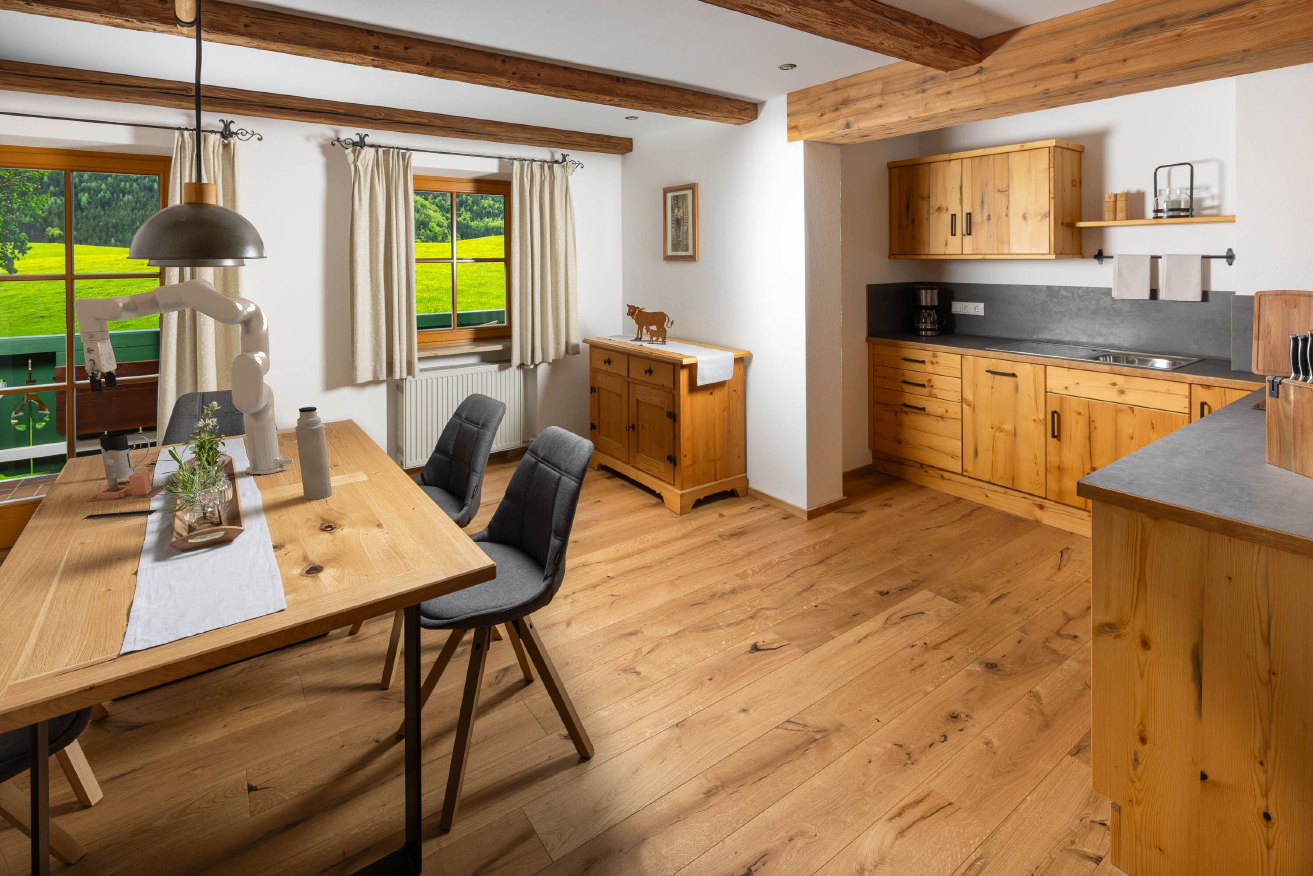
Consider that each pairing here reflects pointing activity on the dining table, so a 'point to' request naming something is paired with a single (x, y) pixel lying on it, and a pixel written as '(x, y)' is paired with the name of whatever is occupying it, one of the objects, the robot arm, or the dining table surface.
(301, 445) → the thermos bottle
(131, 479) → the pink l-shaped piece
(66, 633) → the dining table surface
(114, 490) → the stand
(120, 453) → the grey mug
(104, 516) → the slate mat
